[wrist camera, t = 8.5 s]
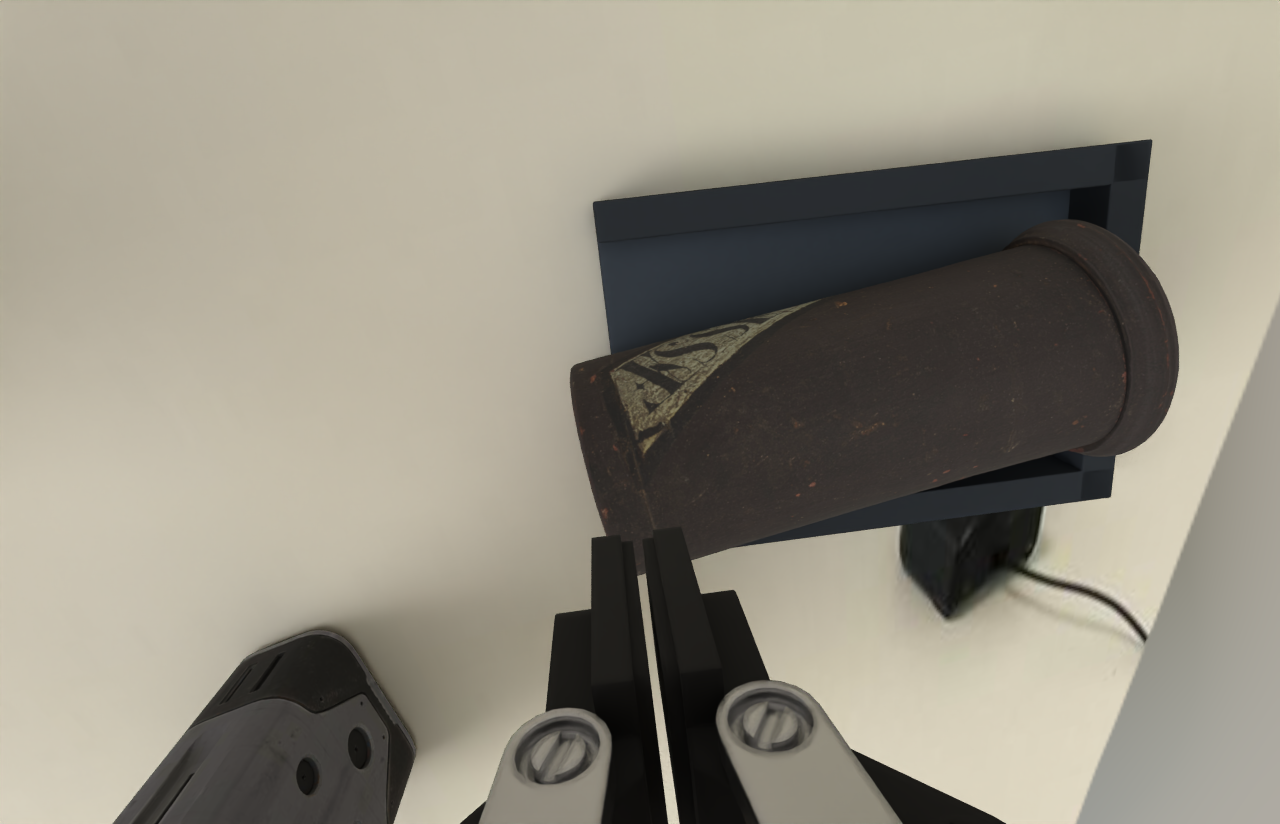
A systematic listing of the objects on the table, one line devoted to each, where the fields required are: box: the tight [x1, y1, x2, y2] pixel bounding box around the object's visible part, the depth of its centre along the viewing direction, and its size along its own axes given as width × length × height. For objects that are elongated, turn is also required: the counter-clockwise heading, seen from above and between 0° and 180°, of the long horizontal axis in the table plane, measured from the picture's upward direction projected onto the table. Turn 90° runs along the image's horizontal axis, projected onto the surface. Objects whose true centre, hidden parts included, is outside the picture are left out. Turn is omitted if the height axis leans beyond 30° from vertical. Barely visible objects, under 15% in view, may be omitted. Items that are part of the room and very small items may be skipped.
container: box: [570, 219, 1179, 575], centre depth 24 cm, size 9×9×20 cm
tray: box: [593, 139, 1152, 548], centre depth 27 cm, size 22×15×2 cm
